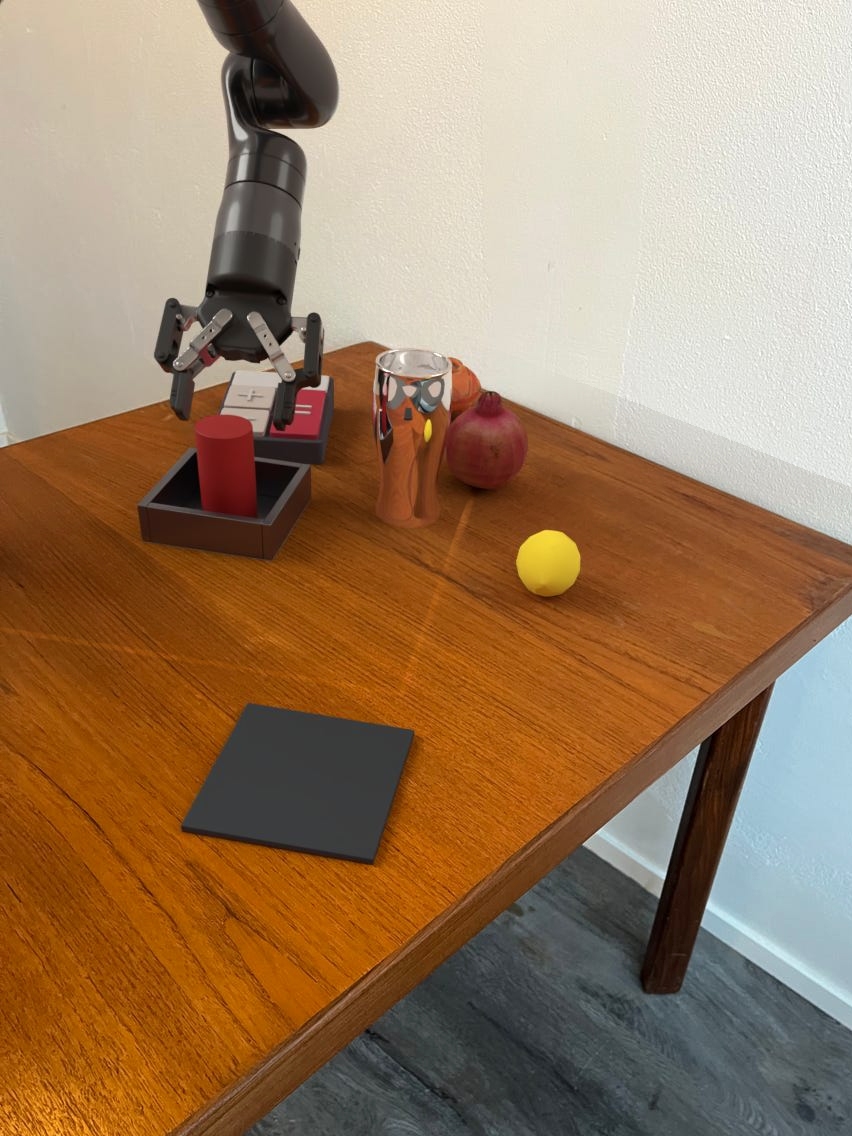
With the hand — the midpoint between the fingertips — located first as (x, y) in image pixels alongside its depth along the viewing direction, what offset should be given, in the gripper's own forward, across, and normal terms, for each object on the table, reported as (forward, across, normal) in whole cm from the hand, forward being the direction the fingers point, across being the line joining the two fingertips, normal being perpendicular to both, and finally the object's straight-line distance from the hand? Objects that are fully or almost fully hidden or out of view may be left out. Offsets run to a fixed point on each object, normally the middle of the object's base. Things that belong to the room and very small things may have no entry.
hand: (230, 422), depth 88 cm
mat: (+30, +13, -17) cm, 37 cm away
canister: (+7, 0, +4) cm, 9 cm away
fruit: (-1, +22, +13) cm, 26 cm away
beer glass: (+5, +16, +8) cm, 18 cm away
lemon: (+12, +29, +1) cm, 31 cm away
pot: (-12, +17, +25) cm, 33 cm away
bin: (+8, 0, +5) cm, 9 cm away
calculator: (-6, 0, +18) cm, 19 cm away
